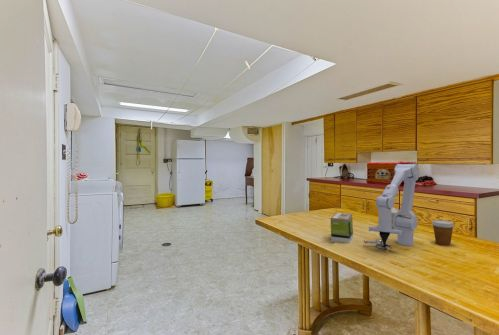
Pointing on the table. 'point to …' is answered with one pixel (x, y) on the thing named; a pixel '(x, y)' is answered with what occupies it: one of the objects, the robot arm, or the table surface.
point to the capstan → (379, 244)
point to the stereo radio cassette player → (393, 212)
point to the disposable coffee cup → (443, 231)
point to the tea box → (341, 227)
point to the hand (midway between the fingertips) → (384, 246)
